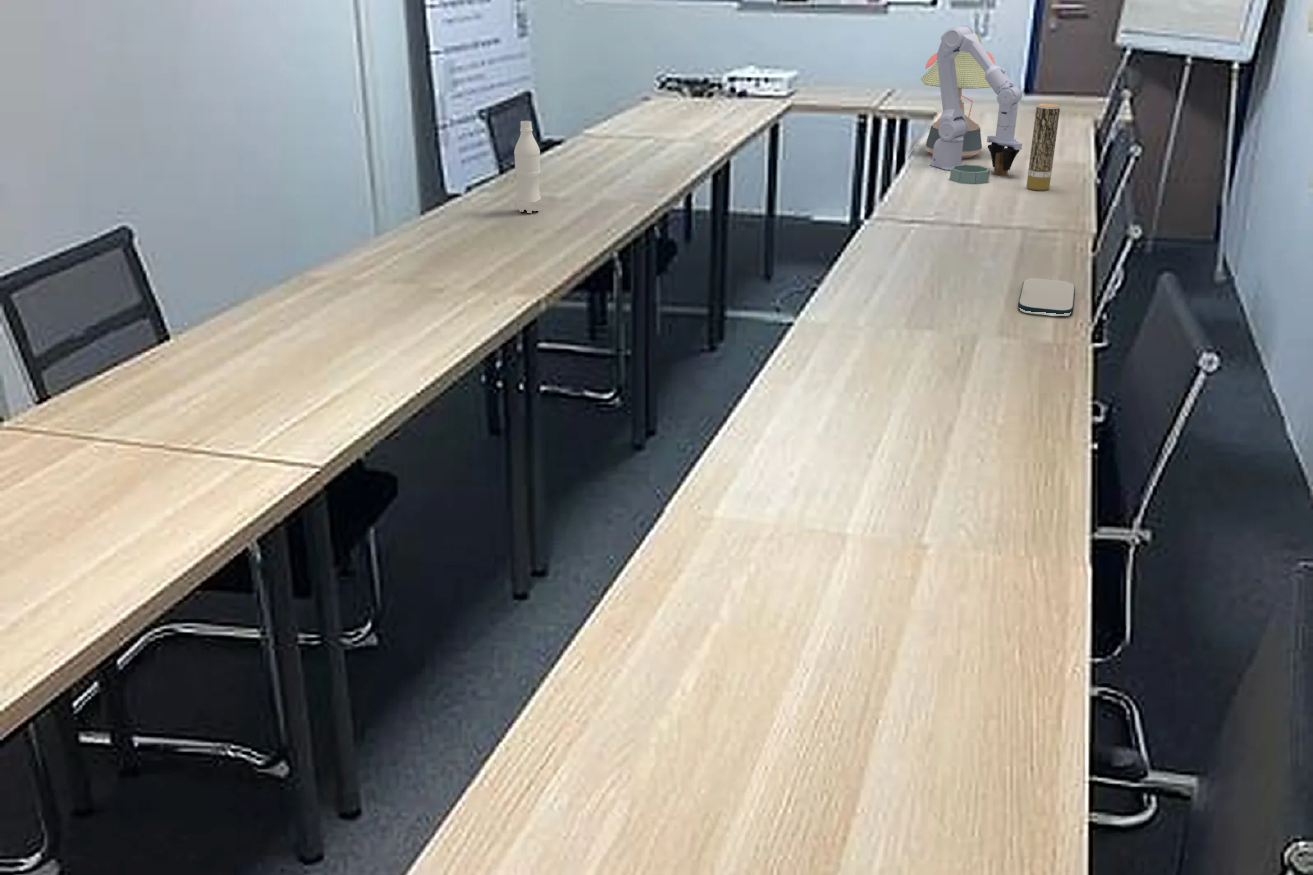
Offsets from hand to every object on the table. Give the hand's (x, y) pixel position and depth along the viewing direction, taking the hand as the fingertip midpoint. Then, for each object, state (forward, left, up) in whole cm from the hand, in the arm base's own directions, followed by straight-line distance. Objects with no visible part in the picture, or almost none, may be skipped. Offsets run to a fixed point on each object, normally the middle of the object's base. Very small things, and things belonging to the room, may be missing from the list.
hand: (1001, 168), depth 398 cm
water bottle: (-15, -155, -2) cm, 156 cm away
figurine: (-64, +29, -2) cm, 70 cm away
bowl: (+2, -14, -2) cm, 14 cm away
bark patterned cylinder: (+21, -3, -2) cm, 21 cm away
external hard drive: (+110, -78, -3) cm, 135 cm away
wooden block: (0, 0, -2) cm, 2 cm away
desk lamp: (-32, +6, -2) cm, 32 cm away
